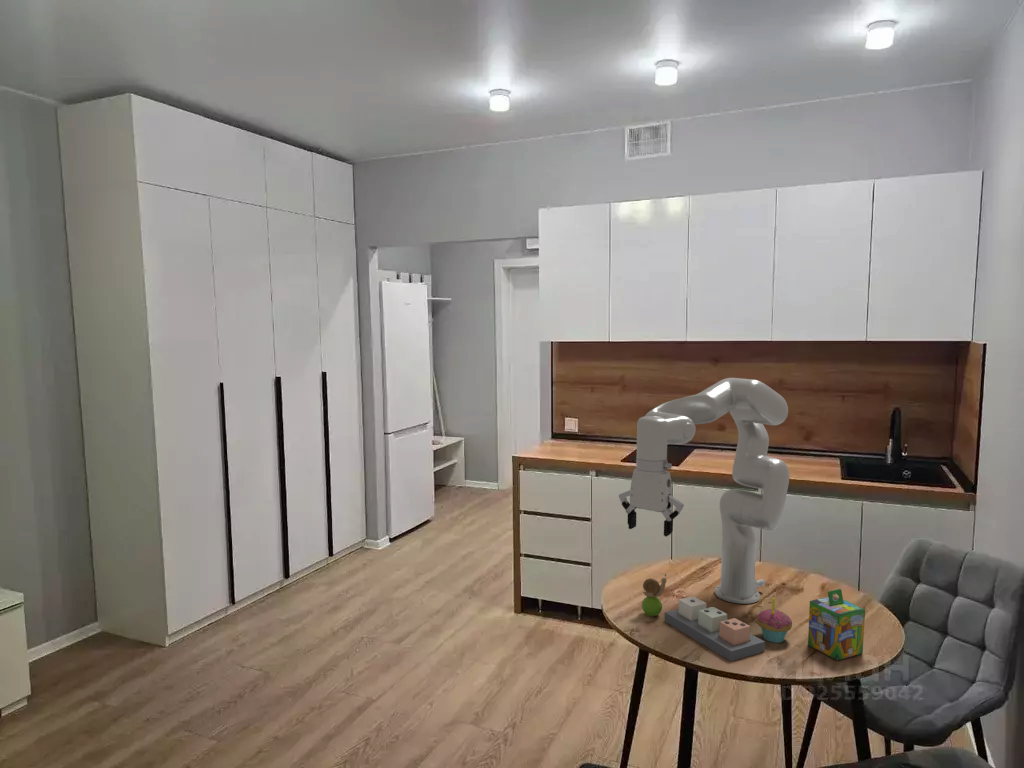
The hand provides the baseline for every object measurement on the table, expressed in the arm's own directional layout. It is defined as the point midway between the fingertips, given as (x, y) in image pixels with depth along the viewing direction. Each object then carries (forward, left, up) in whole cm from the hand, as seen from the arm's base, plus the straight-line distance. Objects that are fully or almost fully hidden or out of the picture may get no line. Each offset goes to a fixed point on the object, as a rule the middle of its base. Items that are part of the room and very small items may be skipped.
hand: (649, 531), depth 170 cm
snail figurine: (-8, -7, -27) cm, 29 cm away
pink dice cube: (-14, +16, -25) cm, 33 cm away
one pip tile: (-14, +1, -25) cm, 28 cm away
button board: (-14, +9, -27) cm, 31 cm away
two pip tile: (-14, +9, -25) cm, 30 cm away
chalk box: (-36, +28, -27) cm, 53 cm away
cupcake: (-27, +17, -27) cm, 42 cm away
